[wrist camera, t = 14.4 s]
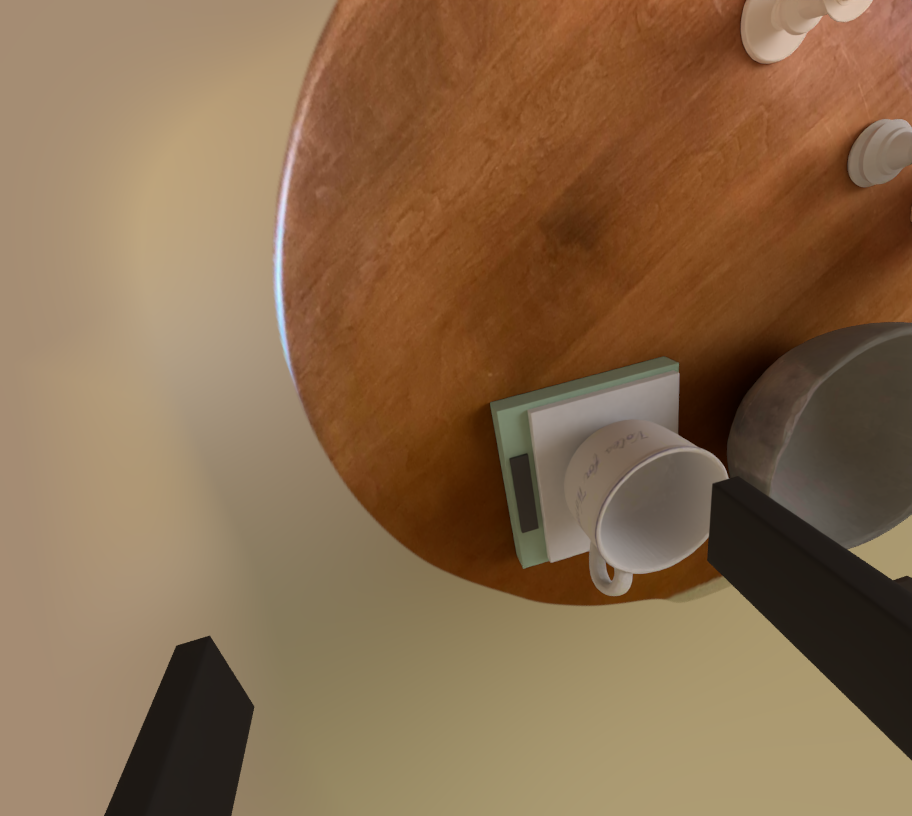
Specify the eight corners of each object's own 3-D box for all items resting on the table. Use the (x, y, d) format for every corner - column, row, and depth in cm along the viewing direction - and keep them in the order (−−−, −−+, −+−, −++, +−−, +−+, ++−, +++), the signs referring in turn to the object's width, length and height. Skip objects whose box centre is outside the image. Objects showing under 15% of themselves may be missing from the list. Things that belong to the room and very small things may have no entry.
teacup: (596, 384, 35) (658, 427, 28) (689, 432, 39) (764, 481, 32) (509, 521, 39) (543, 590, 32) (601, 552, 43) (651, 621, 35)
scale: (516, 554, 44) (526, 574, 42) (489, 402, 37) (499, 415, 35) (663, 509, 46) (680, 526, 43) (664, 356, 39) (685, 365, 36)
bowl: (798, 504, 50) (896, 567, 41) (648, 482, 44) (723, 550, 35) (904, 331, 43) (1049, 360, 34) (744, 279, 37) (867, 298, 28)
